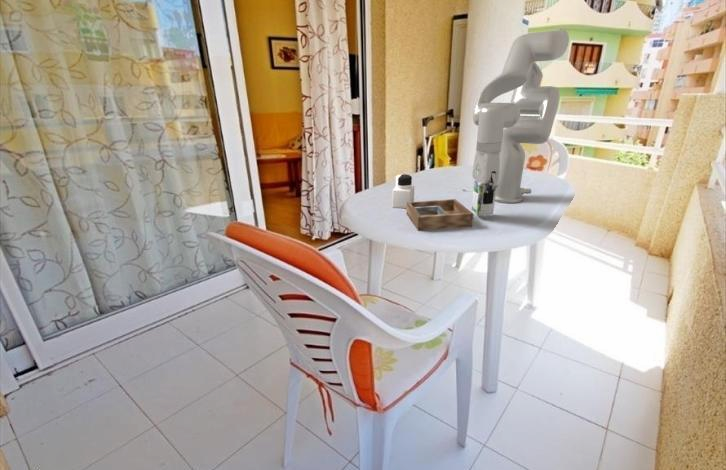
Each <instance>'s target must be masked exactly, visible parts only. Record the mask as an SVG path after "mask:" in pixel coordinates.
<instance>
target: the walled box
mask: <svg viewBox="0 0 726 470" xmlns="http://www.w3.org/2000/svg"><path fill="white" fill-rule="evenodd" d="M406 216H407V217H408V218H409V220H410V221H411V223H412V224H413V225H414V227H415V228H416V230H417V231H418V232H420V231H429V230H430V231H431V230H444V229H446V230H447V229H457V228H459V229H460V228H470V227H471V228H472V227H473V218H474V212H473V211H471V210H469V209H468V208H467V207H466V206H464V204H462V203H461V202H460V201H459V200H457V199H455V198H451V199H439V200H438V199H435V200H423V201H422V200H421V201H414V202H407V208H406Z"/></svg>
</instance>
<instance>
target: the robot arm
mask: <svg viewBox="0 0 726 470" xmlns="http://www.w3.org/2000/svg"><path fill="white" fill-rule="evenodd" d="M569 36H570V35H569V33H568V31H567V30H566V29H556V30H547V31H537V32H530V33H525V34H521V35H519V36H518V37H516V38H515V39H514V41H513V42H512V43H511V47H510V49H509V52H508V55H507V58H506V60H505V62H504V66H503V68H502V72H501V73H500V74H499V75H498V76H496V77H495V78H493V79H492V80H491V81H490V82H488V84H486V86H484V87H483V89H482V90H481V92H480V93H479V95H478V96H477V97H478V98H477V101H476V103H475V105H474V108H473V112H472V122H473V123H474V124H475V126H477V136H476V148H475V149H476V150H475V155H474V160H473V165H472V166H473V168H472V178H473V179H474V180H477V181H478V182H481V184H483V185H485V192H484V196H483V204H492V203H493V196H494V192H495V189H496V195H495V202H499V203H505V204H515V203H520V202H522V201H523V199H524V196H523V195H524V194H532V189H531V188H525V187H521V186H522V185H521V184H522V180H523V173H524V172H523V171H524V166H525V159H526V153H525V150H524V148H523V146H522V144H531V145H542V144H545V143H547V141H548V140H549V137H550V136H551V133H552V129H553V125H554V122H555V118H556V114H557V111H558V107H559V103H560V91H559V89H558V88H557V87H556V86H549V85H548V86H543V85H542V80H543V77H544V76H543V75H544V74H543V72H542V70H541V68H540V66H539V65H538V64H537V62H549V61H550V62H551V61H555V60H558V59H559V58H562V56H563V55H564V54H565V53H566V52H567V50H568V47H569V41H570V37H569ZM511 91H513V92H512V95H511V100H510V102H492V101H493V100H495V99H496V98H498V97H499V96H501V95H504V94H506V93H509V92H511ZM489 181H491V182H492V183H488V182H489ZM488 185H491V186H490V187H489V188H488Z"/></svg>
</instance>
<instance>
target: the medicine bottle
mask: <svg viewBox="0 0 726 470" xmlns="http://www.w3.org/2000/svg"><path fill="white" fill-rule="evenodd" d="M412 180H413V177H412V176H411V175H410V174H404V173H402V174H398V175H396V176H395V187H394V188H393V189H392V200H391V201H392V203H391V204H392V205H391V206H392V208H394V209H395V208H396V209H407V202H415V186H414V185H413V184H412V182H413V181H412Z"/></svg>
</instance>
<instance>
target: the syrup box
mask: <svg viewBox="0 0 726 470" xmlns="http://www.w3.org/2000/svg"><path fill="white" fill-rule="evenodd" d="M473 181H474V183H473V190H472V202H471V212H472V213H473V214H475V215H476V216H477V217H479V216H489V215H494V210H495V202H496V201H495V195H496V189H495V192H494V196H493V203H492V204H483V196H484V192H485V185H483V184H481V182H478V181H477V180H475V179H474V180H473ZM488 183H492V182H491V181H489V182H488ZM490 186H491V185H488V188H489V187H490Z"/></svg>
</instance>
